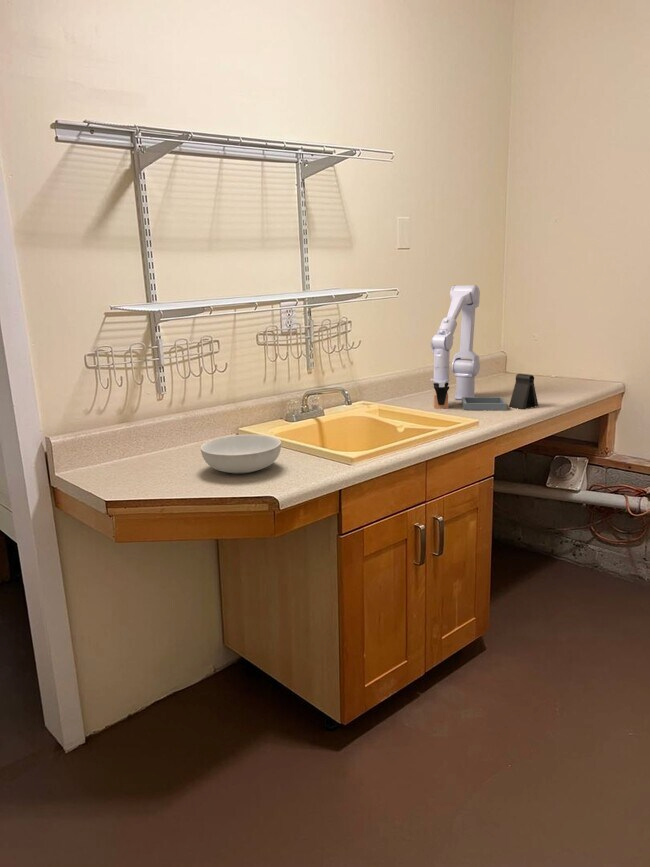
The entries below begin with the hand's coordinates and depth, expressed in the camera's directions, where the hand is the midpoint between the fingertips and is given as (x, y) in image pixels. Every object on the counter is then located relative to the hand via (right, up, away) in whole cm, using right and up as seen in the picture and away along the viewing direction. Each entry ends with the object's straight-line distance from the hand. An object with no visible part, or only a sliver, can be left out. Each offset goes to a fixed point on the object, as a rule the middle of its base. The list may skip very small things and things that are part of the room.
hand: (441, 403), depth 245 cm
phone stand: (+30, -2, -3) cm, 30 cm away
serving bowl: (-65, -21, -72) cm, 99 cm away
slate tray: (+15, -1, -2) cm, 16 cm away
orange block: (0, -1, 0) cm, 1 cm away
